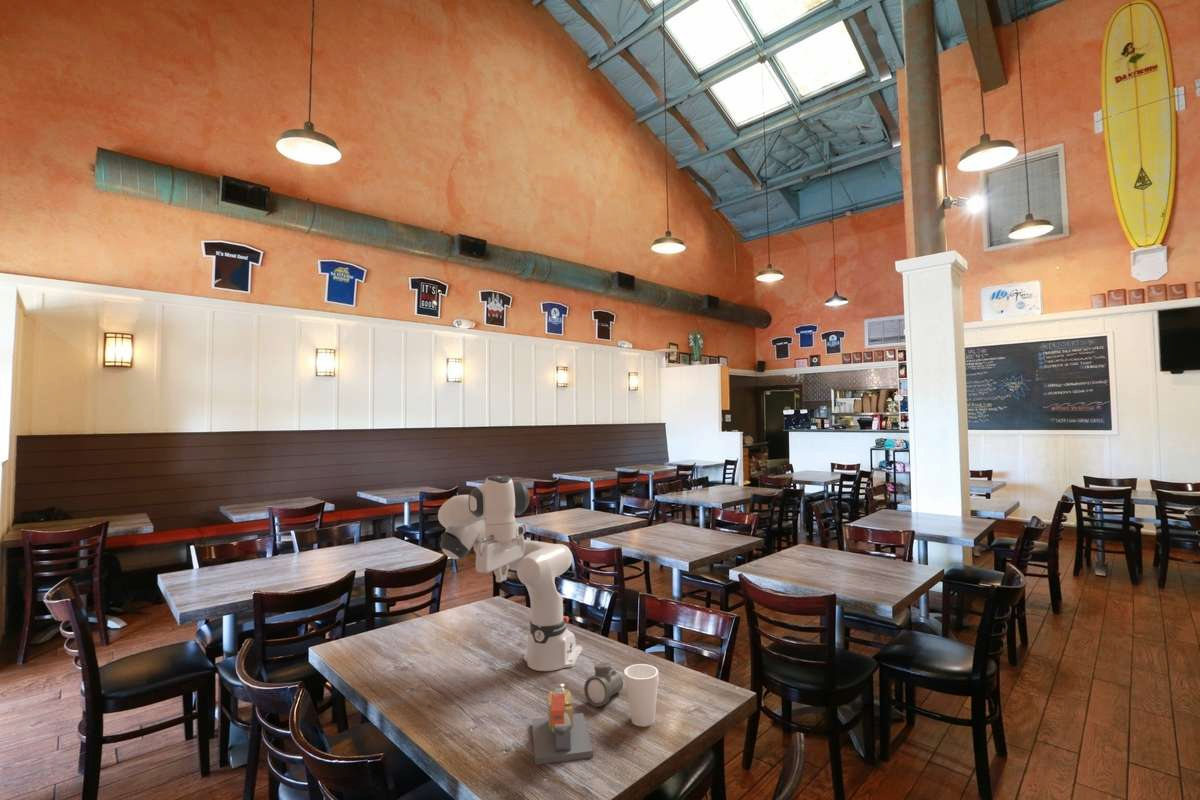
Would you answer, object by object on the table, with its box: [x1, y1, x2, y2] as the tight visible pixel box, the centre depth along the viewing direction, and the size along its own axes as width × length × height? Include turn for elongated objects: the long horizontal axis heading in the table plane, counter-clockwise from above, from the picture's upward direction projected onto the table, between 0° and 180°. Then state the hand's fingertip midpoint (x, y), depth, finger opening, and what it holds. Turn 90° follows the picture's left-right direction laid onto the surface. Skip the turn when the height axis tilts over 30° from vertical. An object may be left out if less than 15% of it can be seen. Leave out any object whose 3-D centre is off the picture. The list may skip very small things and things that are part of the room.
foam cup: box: [623, 663, 660, 728], centre depth 148 cm, size 10×9×13 cm
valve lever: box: [551, 681, 566, 725], centre depth 133 cm, size 16×3×3 cm, turn 3°
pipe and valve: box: [546, 688, 574, 752], centre depth 139 cm, size 6×16×11 cm, turn 9°
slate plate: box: [531, 712, 594, 766], centre depth 139 cm, size 14×18×2 cm
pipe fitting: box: [583, 662, 624, 708], centre depth 160 cm, size 12×8×10 cm, turn 145°
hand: (501, 581), depth 154 cm, fingers closed
